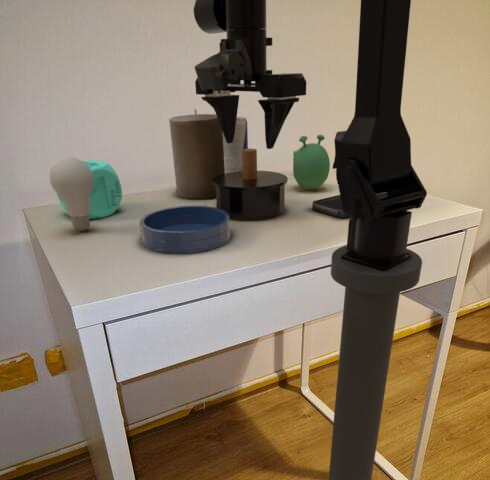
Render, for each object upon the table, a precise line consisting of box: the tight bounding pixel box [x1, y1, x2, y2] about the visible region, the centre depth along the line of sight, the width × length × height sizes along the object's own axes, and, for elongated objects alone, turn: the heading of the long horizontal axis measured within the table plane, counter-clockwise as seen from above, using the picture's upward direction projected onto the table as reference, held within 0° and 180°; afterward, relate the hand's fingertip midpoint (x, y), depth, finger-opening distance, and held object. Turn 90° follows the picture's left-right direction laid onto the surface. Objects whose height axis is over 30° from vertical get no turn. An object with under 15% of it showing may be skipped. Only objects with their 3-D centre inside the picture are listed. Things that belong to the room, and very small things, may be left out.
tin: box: [215, 184, 286, 222], centre depth 79 cm, size 11×11×5 cm
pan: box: [139, 205, 232, 255], centre depth 68 cm, size 13×13×3 cm
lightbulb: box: [49, 156, 94, 232], centre depth 70 cm, size 6×6×11 cm
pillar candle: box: [168, 108, 225, 200], centre depth 87 cm, size 10×10×15 cm
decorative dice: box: [56, 160, 123, 220], centre depth 79 cm, size 8×8×8 cm
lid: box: [213, 148, 288, 191], centre depth 76 cm, size 12×12×6 cm
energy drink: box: [223, 116, 249, 173], centre depth 98 cm, size 5×5×12 cm
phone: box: [311, 192, 387, 219], centre depth 80 cm, size 8×1×15 cm
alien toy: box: [292, 134, 331, 191], centre depth 89 cm, size 7×8×10 cm
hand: (249, 145), depth 74 cm, fingers open, 9 cm apart
